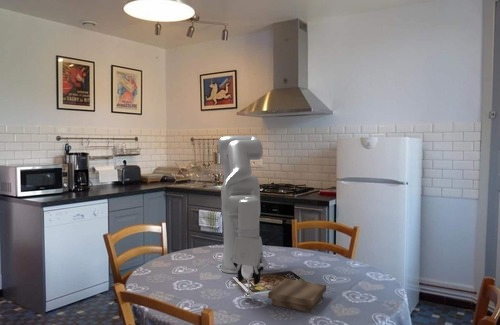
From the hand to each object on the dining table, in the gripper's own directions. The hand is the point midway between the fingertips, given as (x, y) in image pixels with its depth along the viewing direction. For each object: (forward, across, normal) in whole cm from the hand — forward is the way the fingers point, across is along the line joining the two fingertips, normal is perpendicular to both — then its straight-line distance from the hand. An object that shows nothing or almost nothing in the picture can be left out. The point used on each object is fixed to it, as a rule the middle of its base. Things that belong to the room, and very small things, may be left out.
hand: (248, 281), depth 141 cm
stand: (+7, +16, +6) cm, 19 cm away
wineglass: (+5, 0, 0) cm, 5 cm away
